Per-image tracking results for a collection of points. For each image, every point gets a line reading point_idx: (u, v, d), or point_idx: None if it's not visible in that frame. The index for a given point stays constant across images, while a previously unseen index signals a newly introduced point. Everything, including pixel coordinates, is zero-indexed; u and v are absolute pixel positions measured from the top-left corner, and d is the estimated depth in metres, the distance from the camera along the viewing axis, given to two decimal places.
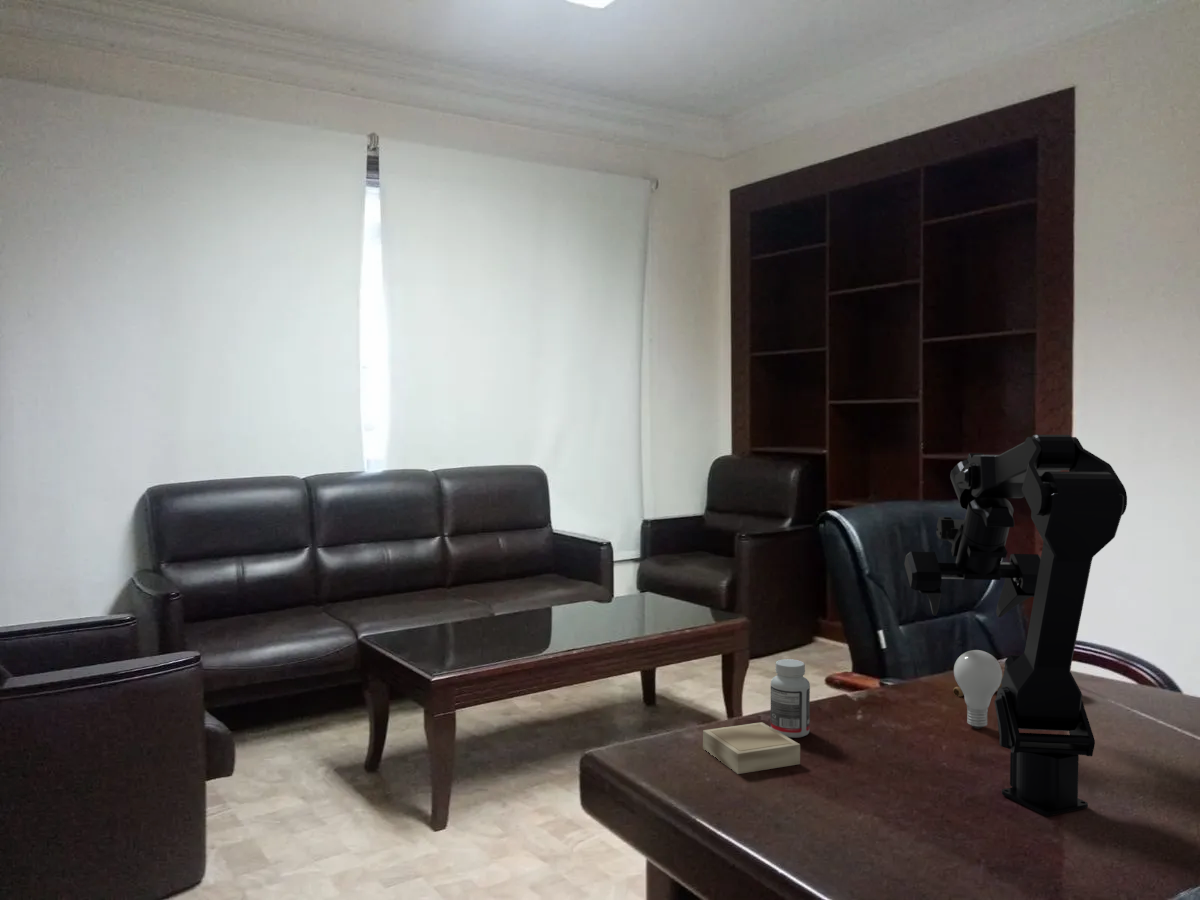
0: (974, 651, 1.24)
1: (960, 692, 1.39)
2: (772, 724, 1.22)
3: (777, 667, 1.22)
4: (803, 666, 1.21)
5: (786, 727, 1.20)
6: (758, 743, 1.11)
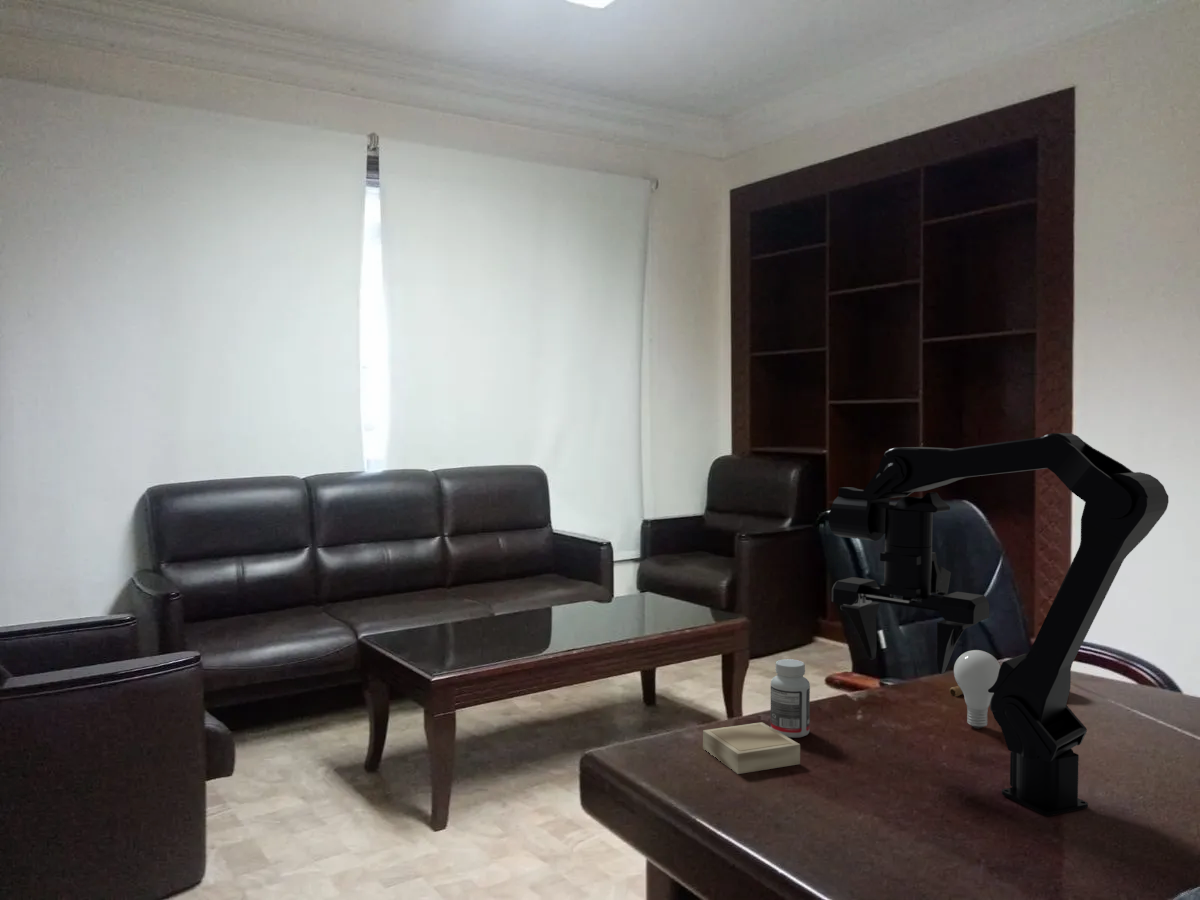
0: (974, 651, 1.24)
1: (956, 692, 1.39)
2: (772, 724, 1.22)
3: (777, 667, 1.22)
4: (803, 666, 1.21)
5: (786, 727, 1.20)
6: (758, 743, 1.11)
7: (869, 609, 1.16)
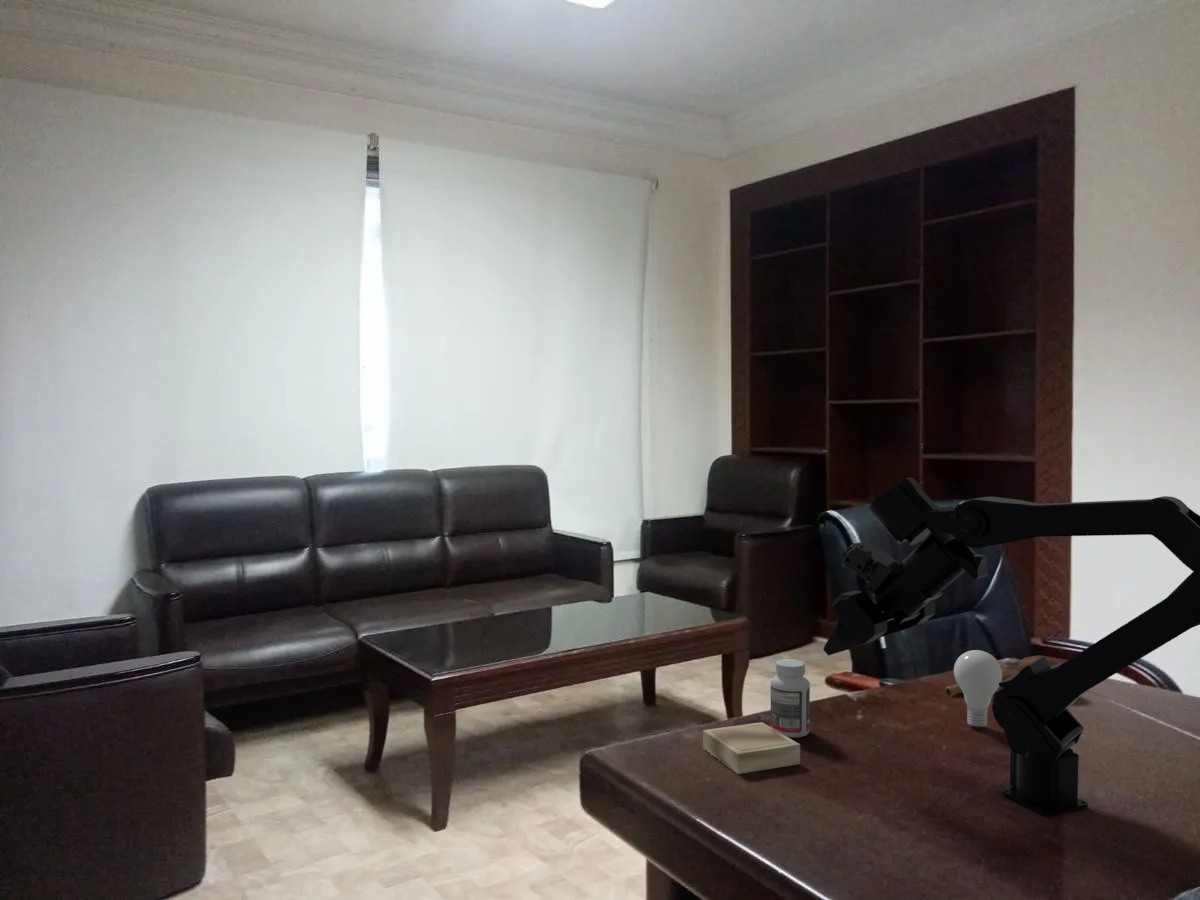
0: (974, 651, 1.24)
1: (952, 691, 1.39)
2: (772, 724, 1.22)
3: (777, 667, 1.22)
4: (803, 666, 1.21)
5: (786, 727, 1.20)
6: (758, 743, 1.11)
7: None
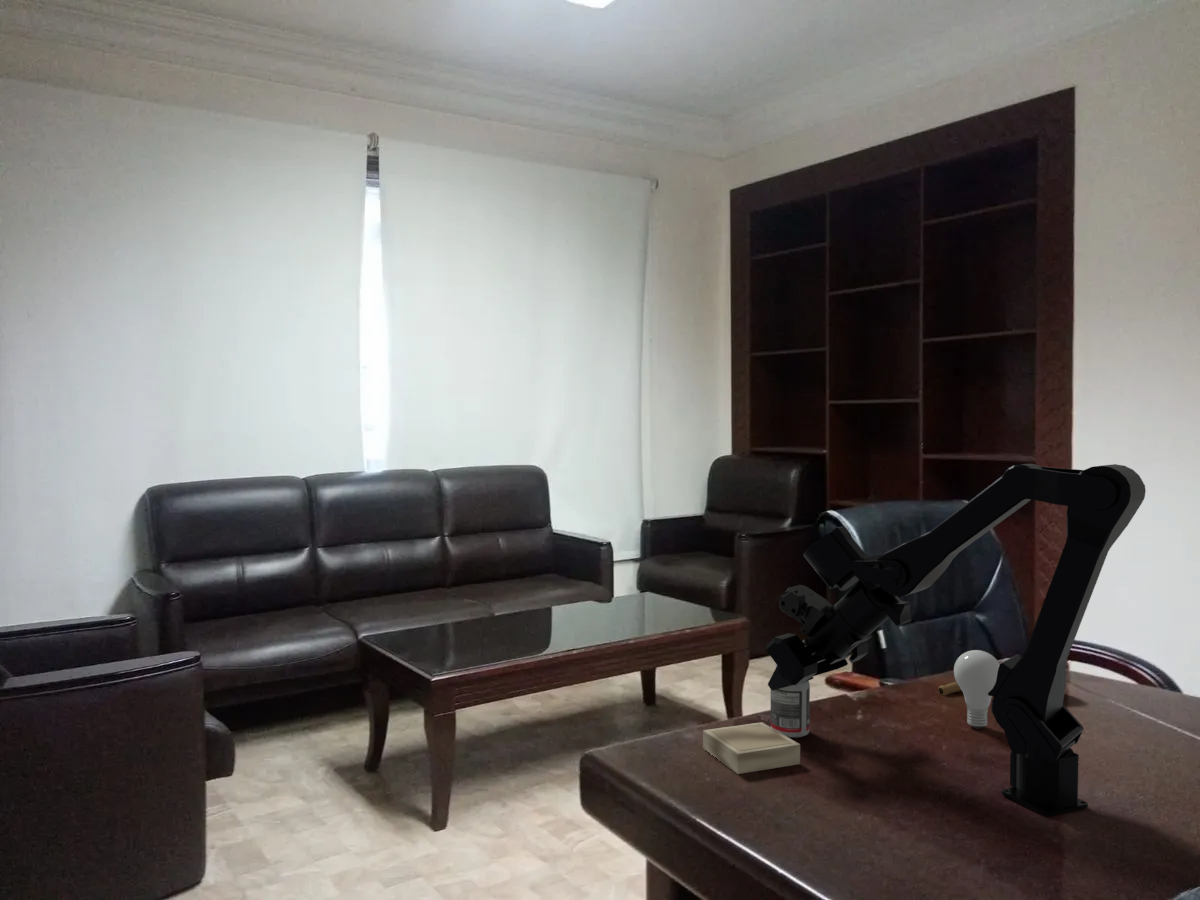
0: (974, 651, 1.24)
1: (944, 691, 1.39)
2: (772, 724, 1.22)
3: None
4: None
5: (786, 727, 1.20)
6: (758, 743, 1.11)
7: None
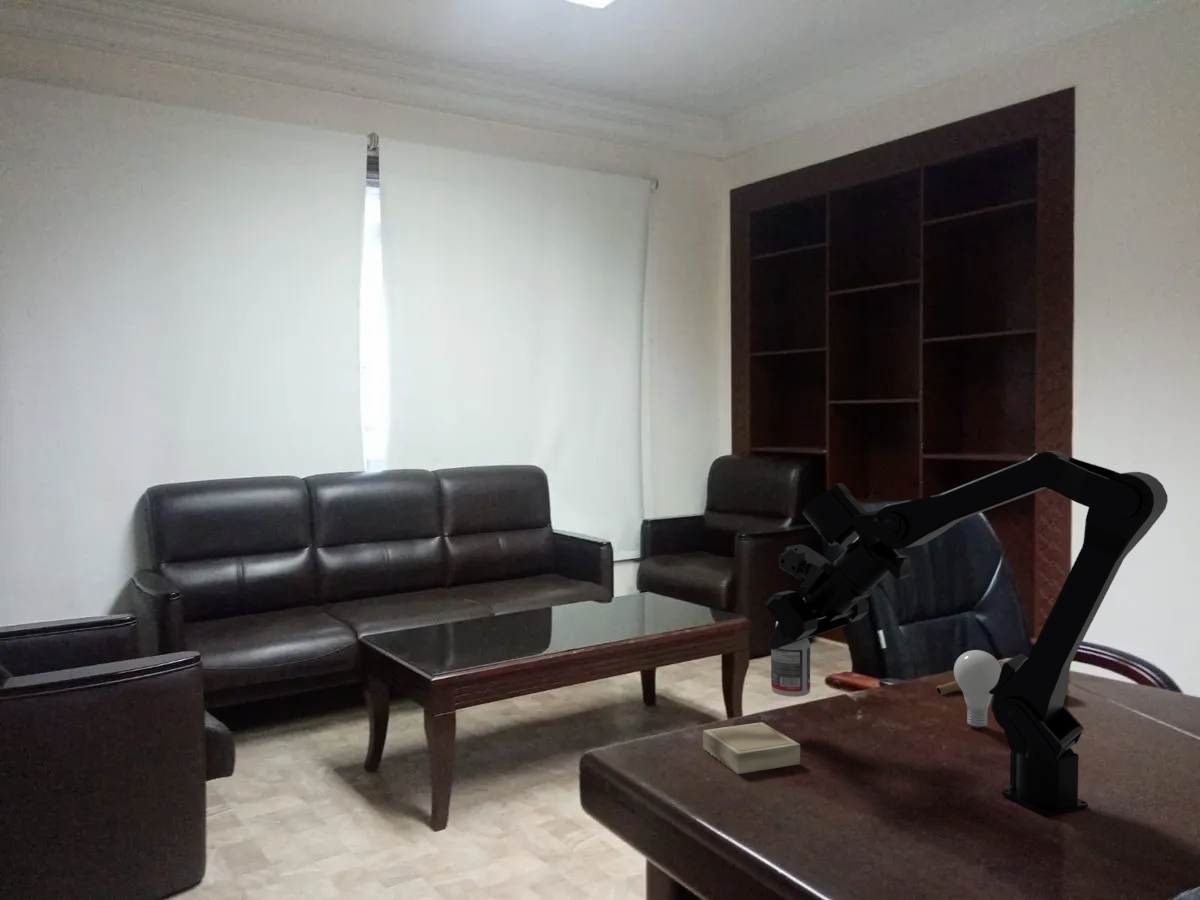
0: (974, 651, 1.24)
1: (942, 691, 1.40)
2: (773, 684, 1.22)
3: None
4: None
5: (786, 686, 1.20)
6: (758, 743, 1.11)
7: None
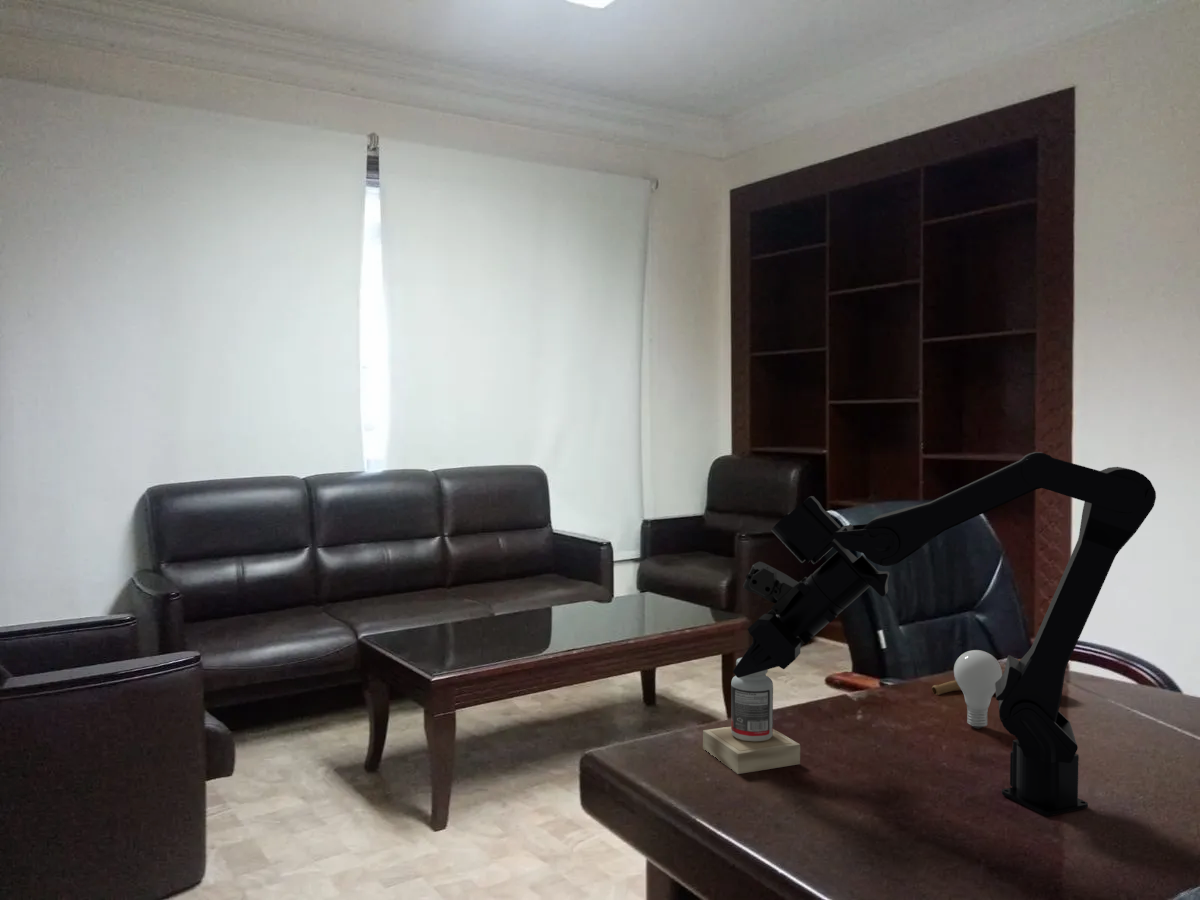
0: (974, 651, 1.24)
1: (937, 690, 1.40)
2: (737, 729, 1.12)
3: None
4: None
5: (755, 730, 1.11)
6: (758, 743, 1.11)
7: None
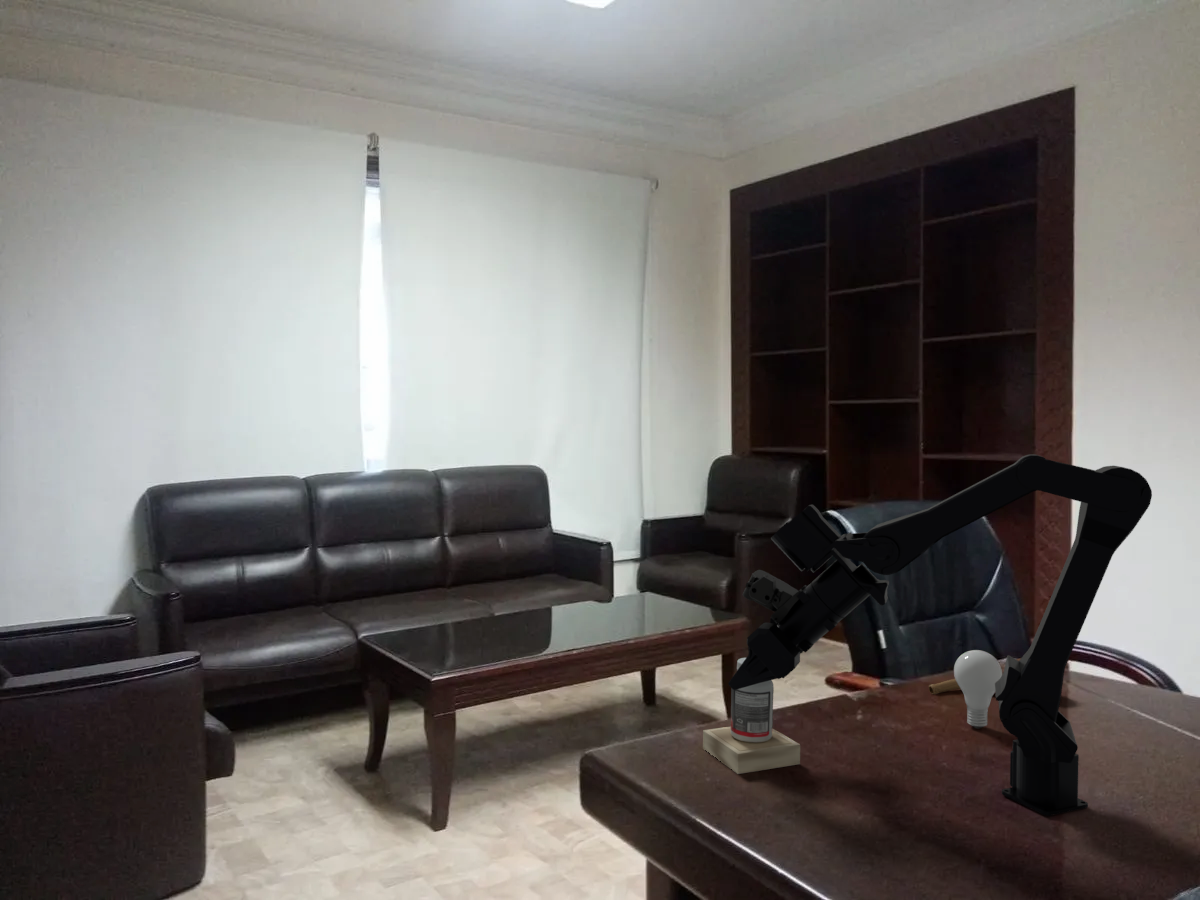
0: (974, 651, 1.24)
1: (934, 690, 1.40)
2: (737, 730, 1.12)
3: None
4: None
5: (755, 732, 1.10)
6: (758, 743, 1.11)
7: None
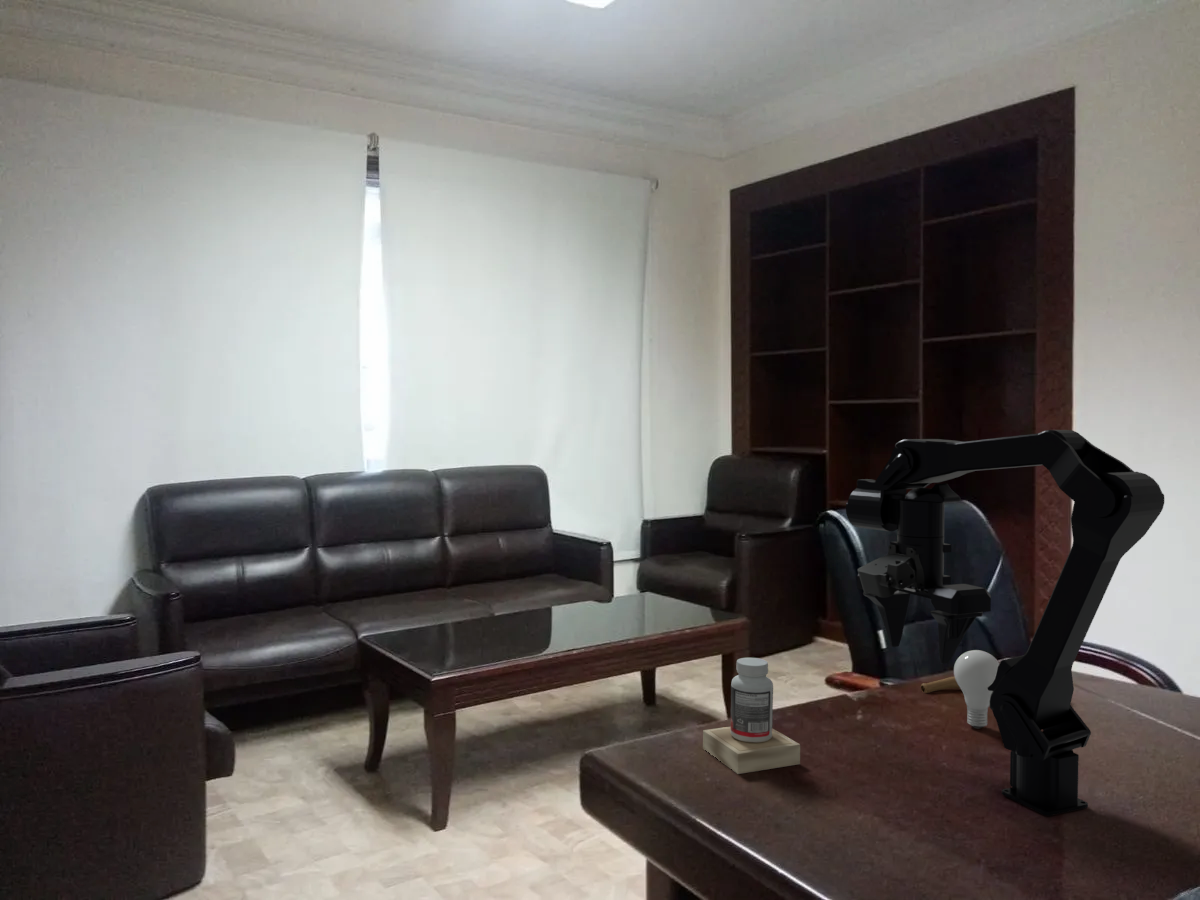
0: (974, 651, 1.24)
1: (925, 689, 1.41)
2: (737, 730, 1.11)
3: (742, 668, 1.12)
4: (767, 664, 1.13)
5: (755, 732, 1.10)
6: (758, 743, 1.11)
7: None
